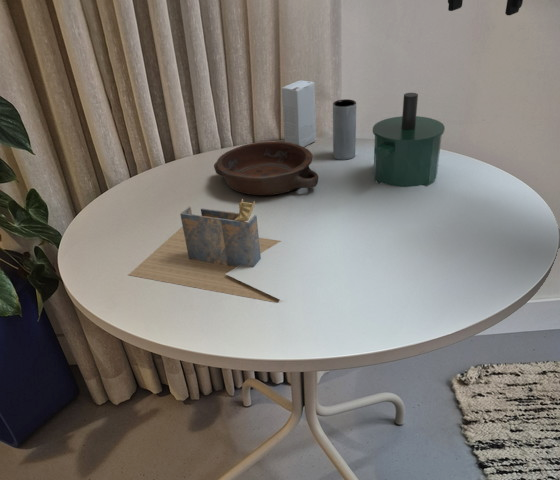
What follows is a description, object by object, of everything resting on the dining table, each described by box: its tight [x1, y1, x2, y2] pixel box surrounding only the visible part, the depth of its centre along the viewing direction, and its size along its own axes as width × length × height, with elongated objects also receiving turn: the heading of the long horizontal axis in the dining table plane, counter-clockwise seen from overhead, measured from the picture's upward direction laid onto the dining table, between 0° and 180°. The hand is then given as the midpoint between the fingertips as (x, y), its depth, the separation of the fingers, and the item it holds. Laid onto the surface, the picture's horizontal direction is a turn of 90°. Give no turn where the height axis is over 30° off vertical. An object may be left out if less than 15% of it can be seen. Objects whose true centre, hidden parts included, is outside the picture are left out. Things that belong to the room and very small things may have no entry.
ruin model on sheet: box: [128, 198, 282, 303], centre depth 86 cm, size 25×16×10 cm, turn 67°
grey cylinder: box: [332, 98, 357, 161], centre depth 115 cm, size 4×4×10 cm
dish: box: [213, 140, 319, 196], centre depth 109 cm, size 18×22×5 cm
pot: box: [372, 134, 443, 188], centre depth 106 cm, size 12×17×8 cm
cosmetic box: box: [281, 79, 317, 148], centre depth 121 cm, size 6×4×12 cm
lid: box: [372, 92, 446, 143], centre depth 101 cm, size 13×13×7 cm
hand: (482, 11), depth 90 cm, fingers open, 9 cm apart
